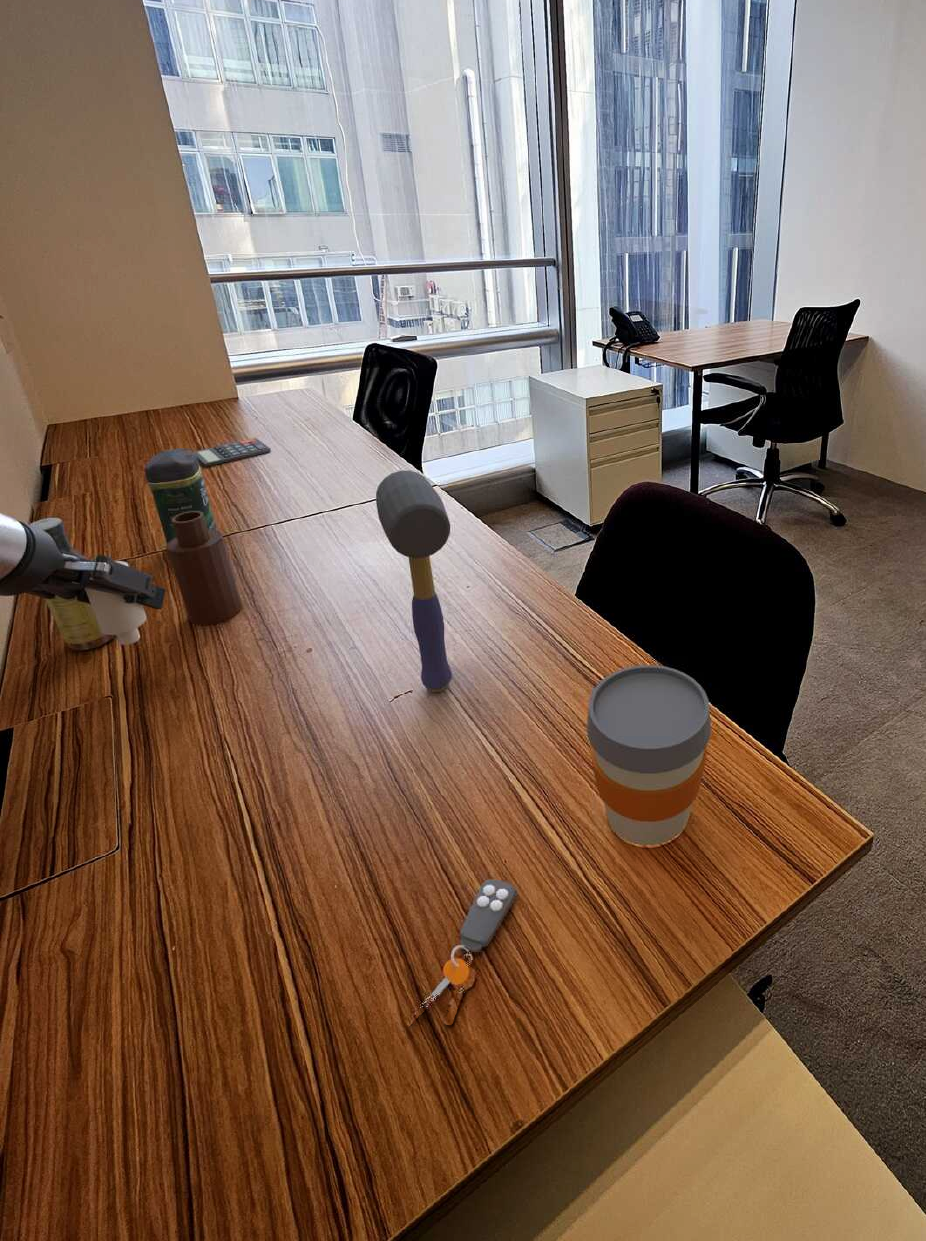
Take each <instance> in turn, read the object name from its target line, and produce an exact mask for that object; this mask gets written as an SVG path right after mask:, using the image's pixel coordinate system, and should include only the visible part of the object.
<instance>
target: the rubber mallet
mask: <svg viewBox="0 0 926 1241" xmlns="http://www.w3.org/2000/svg"><path fill="white" fill-rule="evenodd" d="M375 502H376V511H377V515H378V520H379V522H380V525H381V528H382V530H383V532H384V534H385V536H386V538H387V540H388V541H389V544H390V545H391V547H392V548H393V549H394V550H395V551H396V552H397V553H399V554H401V555H402V556H404V557H407V558H408V563H409V564H408V565H409V570H410V578H411V584H412V591H413V596H412V598H411V599H412V600H411V617H412V618H411V619H412V627H413V631H414V634H415V637H416V638H415V639H416V640H417V644H418V649H419V655H420V662H421V672H420V680H421V683H422V685H423V687H425V688H426V689H427V690H429V691H430V692H431V693H438V692H443V691H444V690H445V689H447V688H448V686H449V685H450V682H451V681H452V677H453V672H452V669H451V666H450V664H449V662H448V656H447V651H446V643H445V620H444V616H443V615H444V614H443V610H442V606H441V602H440V599H439V597H438V595H437V593H436V589H435V588H436V587H435V583H434V576H433V570H432V564H431V558H430V556H433V555H434V554H436V553H438V552H439V551H440V550H442V548H443V547H444V546H445V545H446V543H447V542H448V540H449V537H450V534H451V522H450V520H449V515H448V513H447V510H446V508H445V505H444V502H443V500H442V497H441V496H440V494H438V492H437V491H436V489H435V487H433V486H432V485H431V483H430V482H429V481H428V479H427V478H426V477H425V476H423V475H422V474H420V473H419V472H416V471H413V470H397V471H395V472H392V473H390V474H388V475H387V476H386V477H384V478H383V479H382V481H381V482H380V483H379V484H378V487H377V489H376V492H375Z"/></svg>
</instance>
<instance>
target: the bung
mask: <svg viewBox="0 0 926 1241" xmlns="http://www.w3.org/2000/svg"><path fill="white" fill-rule="evenodd" d="M114 561H115V562H118V563H120V564H123V565H126V566H128V567H130V566H129V564H128V562H126V561H122V560H114ZM85 590H86V593H87V595H88V598H89V601H90V603H91V606H92V608H93V611H94V613H95V616H96V619H97V621H98V624H99V626H100V629H101V631H102V633H104V634H106V635H115V636H117V639H118V642H119V645H122V646H127V645H132V644H134V643H136V642H138V641H139V640H140V639H141V635H140V632H139V629H138V628H139V627H141V626H142V625H143V624H144V623H145V622H146V621H147V614H146V612H145V609H144V605H141V604H138V603H125V601H126V600H124V599H123V597H124V596H121V595H116V594H112V593H107V592H102V591H98V590H93V589H89V588H85Z"/></svg>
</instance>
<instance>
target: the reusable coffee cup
mask: <svg viewBox="0 0 926 1241" xmlns="http://www.w3.org/2000/svg"><path fill="white" fill-rule="evenodd" d="M586 721H587V722H586V733H587V739H588V741H589V743H590V748H589V753H590V759H591V764H592V769H593V775H594V780H595V783H596V784H595V785H596V788H597V792H598V793H599V796H600V798H601V799H602V801H603V804H604V808H605V813H606V818H607V819H606V820H607V822H608V821H609V823H608V825H609V824H610V825H609V827H610V826H611V827H612V828H613V830H614V831H615V832H616V833H617V834H618V835H619V836H620V837H621V838H623V839H625V840H626V841H628V842H631V843H634V844H639V845H655V844H661V843H664V842H667V841H669V840H671V839H672V838H674V837H675V836H677V835H678V834H679V833H680V832H681V831H682V830H683V829H684V827H685V826H686V824H687V825H688V823H689V820H688V819H690V814H691V810H692V806H693V803H694V801H695V800H696V799H697V796H698V794H699V792H700V789H701V784H702V781H703V780H702V779H703V775H704V770H705V766H706V761H707V755H708V746H707V745H708V743H709V741H710V739H711V733H712V724H711V712H710V702H709V698H708V696H707V693H706V691H705V690H704V688H703V687H702V685H701V684H699V683H698V682H697V681H696V680H695V679H694V678H693V677H691V676H690V675H688V674H687V673H685V672H683V671H680V670H678V669H676V668H672V667H669V666H663V665H657V664H641V665H640V664H639V665H632V666H629V667H624V668H621V669H619V670H615V671H613V672H612V673H610V674H609V675H607V676H605V677H604V678H603V679H601V681H599V682H598V683H597V684H596V685H595V687H594V689H593V690H592V692H591V694H590V697H589V702H588V710H587V720H586ZM687 822H688V823H687ZM611 827H610V828H611ZM686 827H687V826H686Z"/></svg>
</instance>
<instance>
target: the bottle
mask: <svg viewBox="0 0 926 1241" xmlns="http://www.w3.org/2000/svg"><path fill="white" fill-rule="evenodd" d="M172 524H173V527H174V530H175V534H176V538H174V539H172V540H171V541H170V542H169V543H166V546H165V549H166V552H167V555H168V558H169V562H170V565H171V567H172V571H173V573H174V576H175V579H176V583H177V586H178V589H179V592H180V595H181V599H182V601H183V604H184V608H185V610H186V613H187V617H188V618H189V621H190V622H191V624H193V625H195V626H211V625H217V624H220V623H223V622H226V621H227V620H230V619H232V618H234V617H235V616H236V615H238V614H239V613H240V611H242V608H243V605H242V598H241V596H240V592H239V589H238V585H237V580H236V578H235V574H234V571H233V567H232V563H231V561H230V557H229V554H228V550H227V546H226V542H225V540H224V536H223V533H222V532H221V531H219V530H218V531H216V530H208V529H207V525H206V522H205V518H204V515H203V512H200V511H189V512H185V513H181V514H179V515H176V516H175V517H173V518H172Z"/></svg>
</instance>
